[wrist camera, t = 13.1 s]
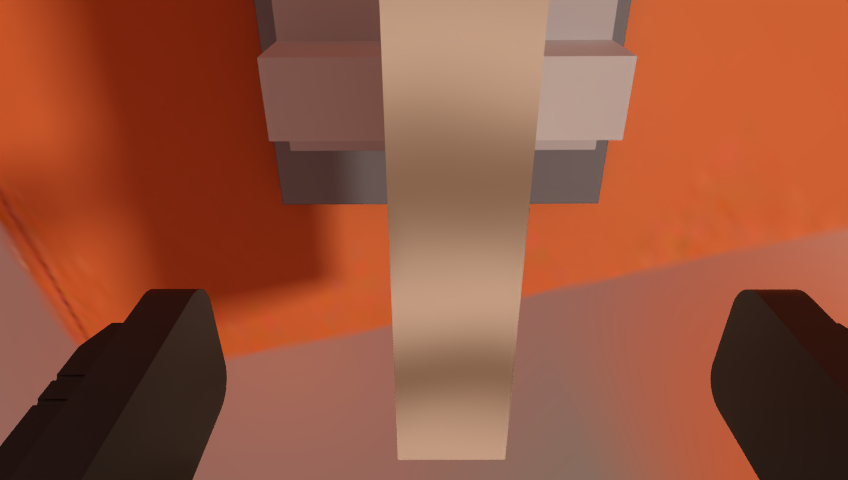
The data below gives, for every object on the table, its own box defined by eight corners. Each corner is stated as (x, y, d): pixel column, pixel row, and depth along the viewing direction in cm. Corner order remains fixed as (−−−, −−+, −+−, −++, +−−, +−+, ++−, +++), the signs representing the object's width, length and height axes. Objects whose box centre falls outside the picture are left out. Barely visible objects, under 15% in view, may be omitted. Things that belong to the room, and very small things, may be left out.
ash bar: (388, -259, 15) (363, -374, 9) (521, -259, 15) (585, -375, 9) (404, 328, 25) (397, 459, 19) (485, 328, 25) (505, 459, 19)
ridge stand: (247, -120, 23) (177, -134, 17) (638, -122, 23) (722, -138, 17) (288, 191, 30) (251, 267, 24) (590, 190, 30) (636, 266, 24)
